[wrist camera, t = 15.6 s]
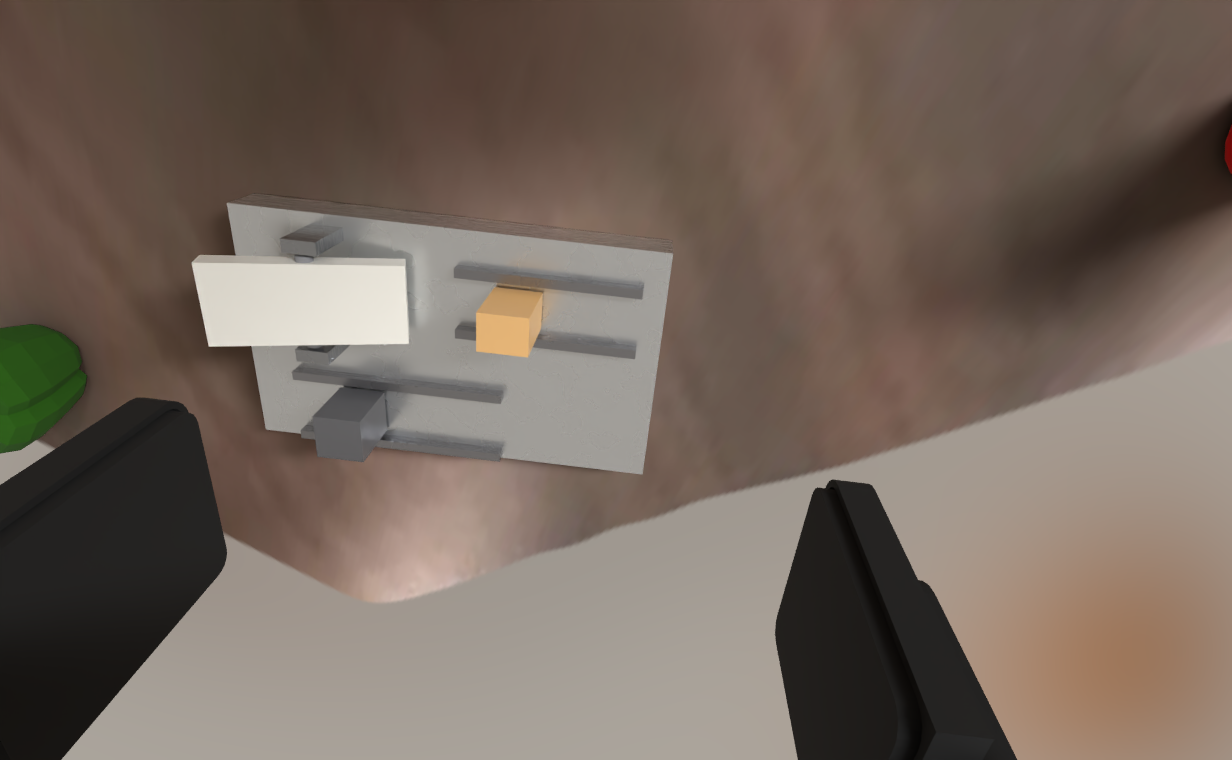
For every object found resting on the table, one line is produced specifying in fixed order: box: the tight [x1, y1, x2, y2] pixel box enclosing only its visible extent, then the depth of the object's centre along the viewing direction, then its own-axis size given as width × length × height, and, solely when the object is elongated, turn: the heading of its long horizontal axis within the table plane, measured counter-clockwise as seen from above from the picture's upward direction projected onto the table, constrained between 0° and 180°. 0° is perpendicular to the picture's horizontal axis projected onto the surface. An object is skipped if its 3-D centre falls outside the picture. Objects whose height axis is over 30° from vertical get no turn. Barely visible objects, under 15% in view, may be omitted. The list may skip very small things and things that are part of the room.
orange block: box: [476, 287, 543, 357], centre depth 39 cm, size 2×3×4 cm
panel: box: [227, 193, 673, 474], centre depth 42 cm, size 16×27×6 cm, turn 84°
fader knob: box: [312, 387, 387, 462], centre depth 43 cm, size 3×3×4 cm
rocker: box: [192, 254, 409, 348], centre depth 38 cm, size 6×11×1 cm, turn 84°
